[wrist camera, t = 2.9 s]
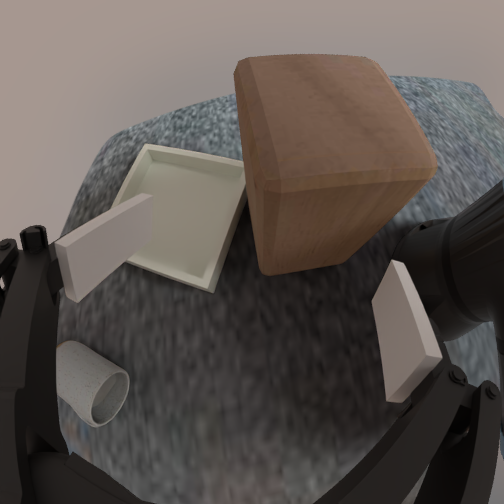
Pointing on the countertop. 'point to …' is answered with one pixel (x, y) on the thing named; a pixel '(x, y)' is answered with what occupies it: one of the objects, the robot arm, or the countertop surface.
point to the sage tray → (187, 212)
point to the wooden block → (324, 156)
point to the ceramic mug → (90, 383)
